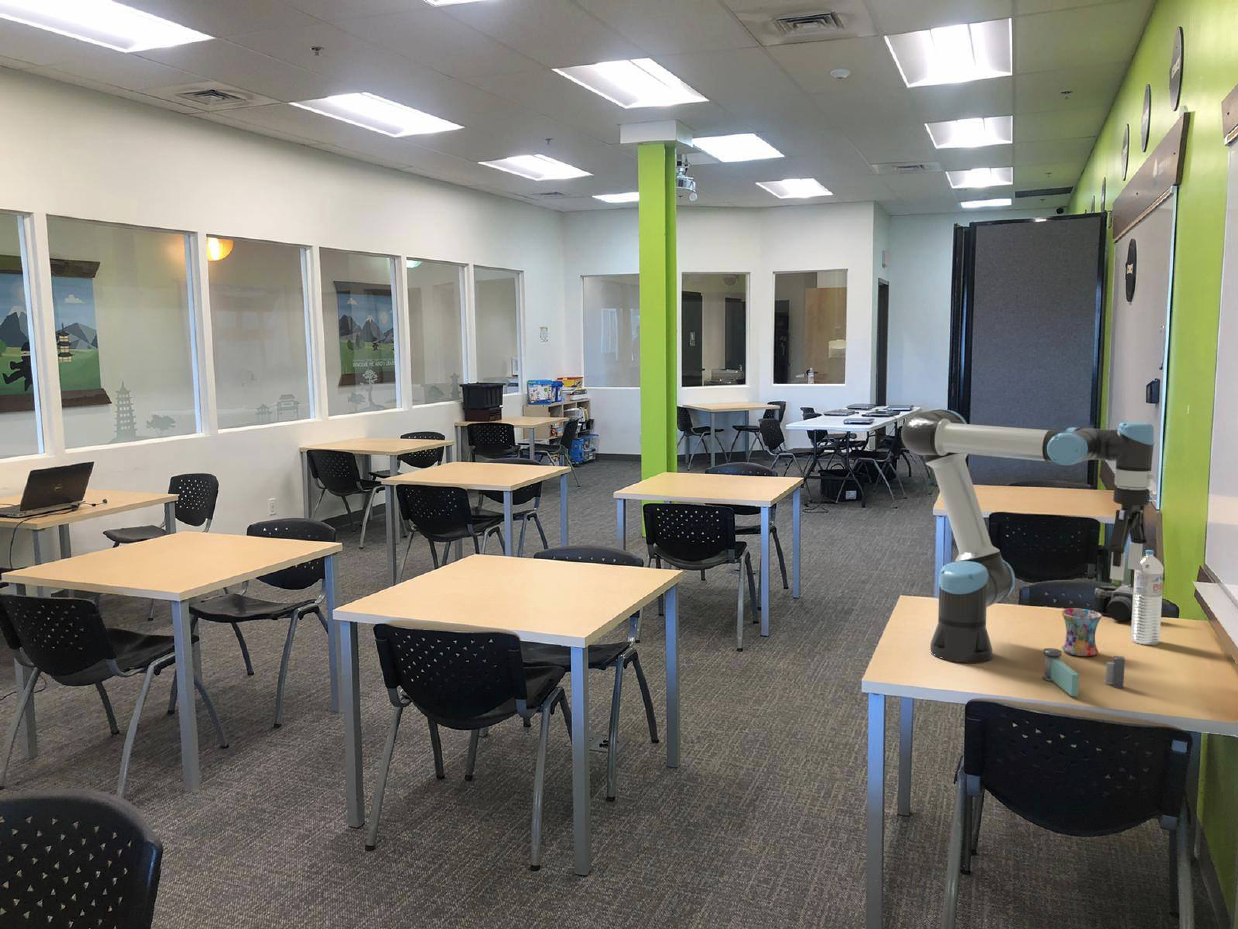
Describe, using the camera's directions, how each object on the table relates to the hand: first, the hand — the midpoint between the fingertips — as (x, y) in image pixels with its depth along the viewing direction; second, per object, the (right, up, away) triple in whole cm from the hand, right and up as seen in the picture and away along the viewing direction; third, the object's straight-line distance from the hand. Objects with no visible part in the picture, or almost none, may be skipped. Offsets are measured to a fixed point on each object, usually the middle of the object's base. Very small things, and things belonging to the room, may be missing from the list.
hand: (1125, 574), depth 224 cm
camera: (+24, -19, +47) cm, 56 cm away
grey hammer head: (-19, -25, -2) cm, 31 cm away
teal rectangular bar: (-19, -25, -7) cm, 32 cm away
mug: (-1, -23, +18) cm, 29 cm away
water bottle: (+19, -21, +25) cm, 38 cm away
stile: (-6, -25, -7) cm, 27 cm away
